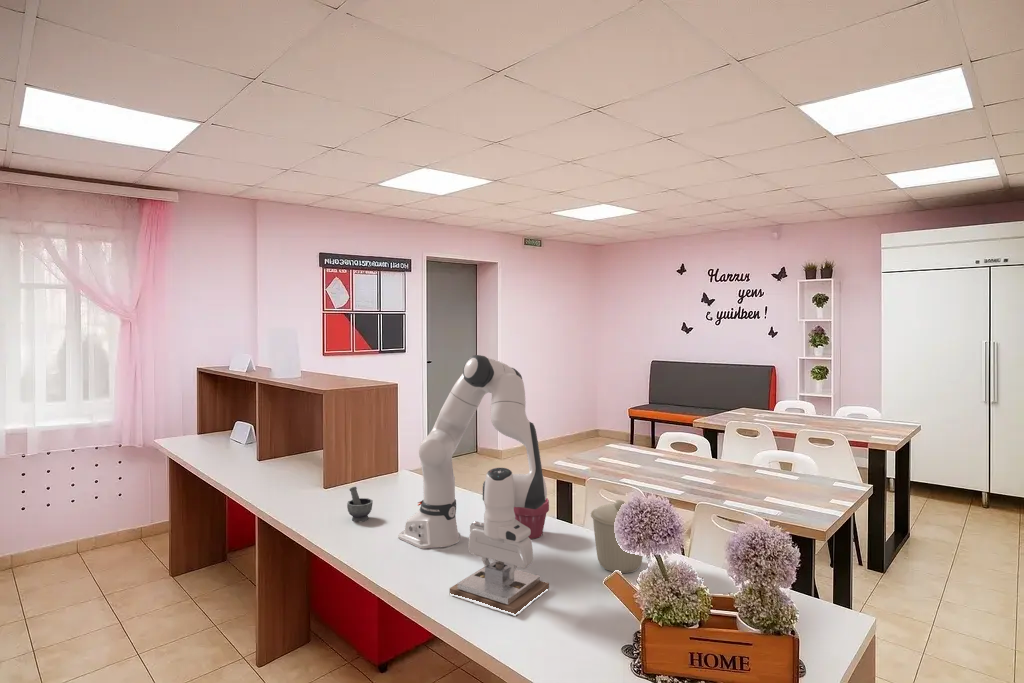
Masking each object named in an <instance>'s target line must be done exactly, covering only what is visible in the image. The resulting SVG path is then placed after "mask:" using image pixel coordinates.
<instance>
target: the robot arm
mask: <svg viewBox="0 0 1024 683" xmlns="http://www.w3.org/2000/svg"><path fill="white" fill-rule="evenodd" d="M524 384H525V383H524V380H523V377H522V375H521V372H519V370H517V369H515V368H514V367H511V366H509V365H507V364H505V363H503V362H502V361H500V360H496V359H492V358H489V357H487V356H485V355H480V354H475V355H472V356H470V357H468V359H467V360H466V361H465V364H464V366H463V369H462V373H461V375H460V377H459V378H458V379H457V380H456V381H455V383H454V385H453V386H452V388H451V390H450V392H449V393H448V396H447V397H446V399H445V401H444V403H443V405H442V407H441V409H440V410H439V414H438V416H437V418H436V420H435V423H434V425H433V427H432V429H431V430H430V432H429V433H428V434H427V435H426V436H425V437H424V438H423V439H422V441H421V442H420V444H419V448H418V457H419V459H420V466H421V472H422V478H423V479H422V480H423V481H422V482H423V486H422V487H423V492H422V493H423V499H422V500H421V501H418V502H417V506H418V507H419V506H420V507H419V510H417V512H415V513H414V514H412V515H411V516H410V517H408V519H407V520H406V522H405V526H404V530H403V531H401V532H400V533H399V534H398V536H397V538H398V539H400V540H402V541H404V542H406V543H408V544H410V545H412V546H415V547H417V548H420V549H422V550H423V549H431V548H445V547H450V546H452V545H455V544H457V543H458V542H459V541H460V540H461V539H460V535H459V530H458V525H457V517H456V514H457V500H456V477H455V474H454V467H453V455H454V453H455V452H456V450H457V448H458V446H459V444H460V442H461V440H462V439H463V436H464V434H465V433H466V432H467V431H466V430H467V428H468V427H469V425H470V423H471V421H472V419H473V417H474V415H475V413H476V411H477V410H478V408H479V406H480V403H481V402H482V400H483V398H484V397H485V395H486V394H491V403H490V422H491V424H492V426H493V427H494V429H495V430H497V432H499V433H500V434H502V435H504V436H506V437H508V438H510V439H513V440H515V441H518V442H519V443H521V444H523V446H524V447H525V450H526V456H527V462H528V465H527V466H528V473H513V472H512V470H510V469H509V468H506V467H495V468H492V469H489V470H488V471H487V473H486V475H485V480H484V481H483V483H482V501H483V503H484V507H485V510H484V513H483V522H479V521H474V522H473V521H472V522H471V523H470V525H469V538H468V546H467V547H468V549H467V550H468V551H469V553H470V554H472V555H475V556H479V557H481V561H482V563H483V565H484V567H486V566H488V565H489V564H491V562H490V560H493V561H496V560H497V561H500V562H504V563H507V564H510V568H511V570H509V571H508V572H507V578H509V579H513V578H514V571H515V570H517V568H518V567H519V568H523V569H526V568H527V567H529V566H531V564H532V563H533V560H534V554H533V552H534V550H533V543H532V540H531V539H530V538H529V537H528V536H529V535H530V534H531V530H530V528H528V527H527V526H525V525H523V524H522V523H520V522H519V521H517V520H516V519H515V513H514V507H525V508H529V509H537V508H539V507H540V506H542V505H543V504H544V503H545V501H546V498H547V495H548V489H547V488H548V487H547V484H546V480H545V477H544V473H543V469H542V467H543V466H542V460H541V455H540V453H541V452H540V448H539V447H540V446H539V440H538V435H537V430H536V427H535V425H534V424H535V423H533V422H531V421H530V420H529V418H528V416H527V413H526V390H525V385H524Z"/></svg>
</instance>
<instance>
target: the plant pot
mask: <svg viewBox="0 0 1024 683" xmlns="http://www.w3.org/2000/svg"><path fill="white" fill-rule="evenodd" d="M549 511H550V501H549V499H548V498H547V497H546V501H545V503H544V504H543V505H542V506H540V507H539V508H537V509H529V508H525V507H514V513H515V519H516V520H517V521H519V522H520V523H522V524H523V525H525V526H527V527H528V528H530V530H531V534H530V535H529V536H528V537H529V538H530V540H531V539H532V540H533V539H538V538H541V537H542V536H543V531H544V528H545V523H546V517H547V513H548V512H549Z"/></svg>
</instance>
